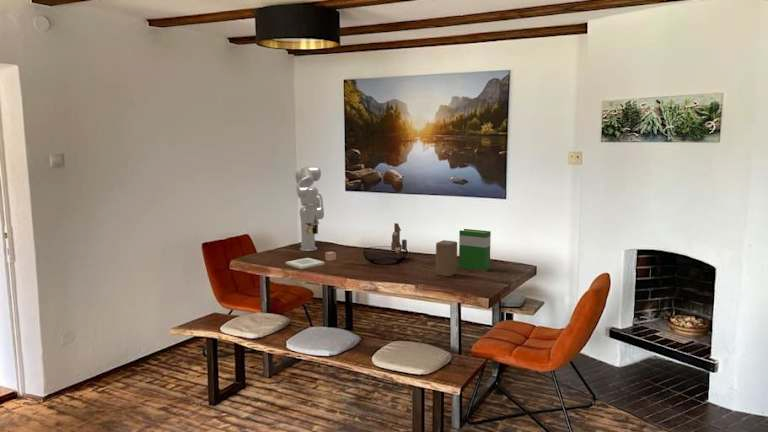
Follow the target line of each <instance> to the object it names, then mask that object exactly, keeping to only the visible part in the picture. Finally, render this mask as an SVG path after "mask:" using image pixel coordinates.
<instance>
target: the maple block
mask: <svg viewBox="0 0 768 432" xmlns="http://www.w3.org/2000/svg"><path fill="white" fill-rule="evenodd" d="M314 225H315V224H314ZM306 234H309V235H314V234H313V224H310V225H306ZM318 234H319V225H318V226H317V233H315V235H318Z"/></svg>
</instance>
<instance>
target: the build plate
mask: <svg viewBox="0 0 768 432" xmlns="http://www.w3.org/2000/svg"><path fill="white" fill-rule="evenodd" d="M285 265H288V266H291V267H293V268H297V269H300V270H303V269H308V268H314V267H318V266H324V265H325V261H323V260H319V259H315V258H310V257H304V258H299V259H295V260H289V261H285Z"/></svg>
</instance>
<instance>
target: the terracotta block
mask: <svg viewBox="0 0 768 432" xmlns="http://www.w3.org/2000/svg"><path fill="white" fill-rule="evenodd" d="M324 254H325V256H324V257H325V261H328V262H329V261H330V262H333V261H336V260H337V253H336V252H334V251H326V252H325V253H324Z"/></svg>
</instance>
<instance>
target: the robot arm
mask: <svg viewBox="0 0 768 432" xmlns="http://www.w3.org/2000/svg"><path fill="white" fill-rule="evenodd" d="M321 172H322V171H321V169H320V167H318V166H304V167H302V168H300V170H298V171H296V172H295V180H296V195H297V198H299V199H300V203H301V206H302V207H301V208H300V209H299V217H300V225H301V226H300V227H301V243H300V244H299V245H300V247H299V250H300V251H301V252H311V251H312V252H313V251H317V250H318V247H317V246H316V243H315V242H316V239H315V237H316V234H315V233H317V226H318V227H319V224H320V222H319V220H322V219H324V217H325V211H324V209H325V208H324V201H323V195H322V194H321V193H319V189H318V188H317V186H313V185H314V182H318V181H319V180H320V179H321V176H322V173H321ZM310 224H313V234H314V235H309V234H306V225H310ZM314 224H315V225H314Z"/></svg>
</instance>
